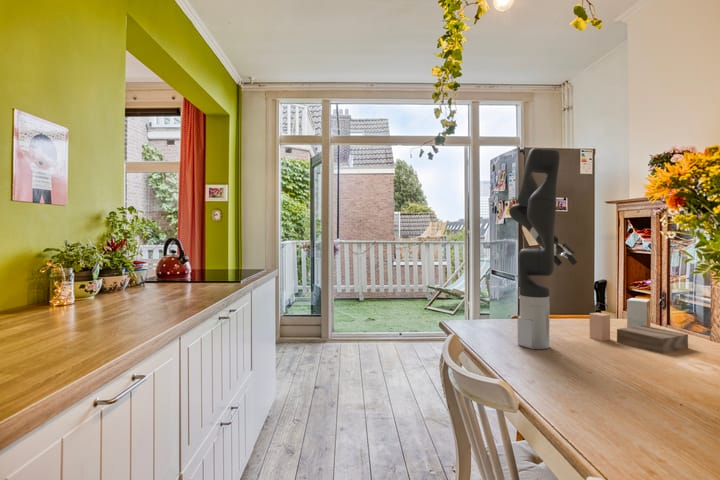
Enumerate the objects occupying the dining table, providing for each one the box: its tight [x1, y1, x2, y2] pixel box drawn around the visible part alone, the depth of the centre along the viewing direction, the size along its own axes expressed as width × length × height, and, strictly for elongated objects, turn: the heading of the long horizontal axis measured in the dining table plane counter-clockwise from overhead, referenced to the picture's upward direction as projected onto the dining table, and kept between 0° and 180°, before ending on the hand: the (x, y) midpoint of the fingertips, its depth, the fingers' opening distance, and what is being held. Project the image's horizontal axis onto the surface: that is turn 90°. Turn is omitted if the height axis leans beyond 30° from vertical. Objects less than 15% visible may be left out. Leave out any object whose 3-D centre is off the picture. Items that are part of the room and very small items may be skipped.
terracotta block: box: [589, 312, 611, 342], centre depth 133 cm, size 4×4×9 cm
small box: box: [626, 297, 651, 328], centre depth 140 cm, size 8×6×13 cm
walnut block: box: [616, 325, 689, 354], centre depth 125 cm, size 14×14×5 cm
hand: (568, 264), depth 145 cm, fingers open, 8 cm apart
